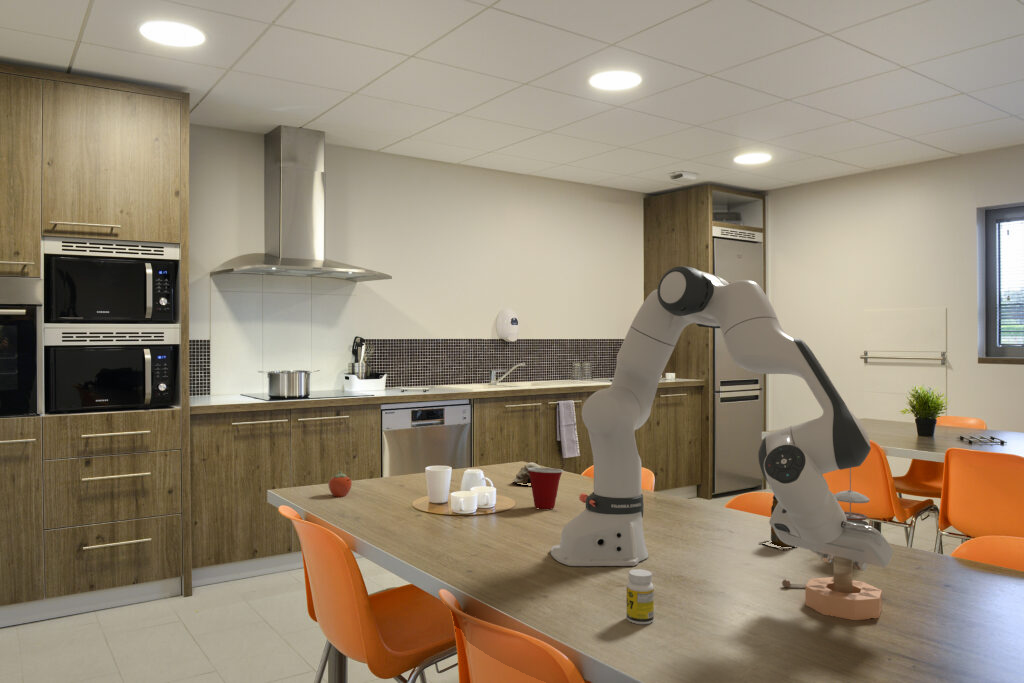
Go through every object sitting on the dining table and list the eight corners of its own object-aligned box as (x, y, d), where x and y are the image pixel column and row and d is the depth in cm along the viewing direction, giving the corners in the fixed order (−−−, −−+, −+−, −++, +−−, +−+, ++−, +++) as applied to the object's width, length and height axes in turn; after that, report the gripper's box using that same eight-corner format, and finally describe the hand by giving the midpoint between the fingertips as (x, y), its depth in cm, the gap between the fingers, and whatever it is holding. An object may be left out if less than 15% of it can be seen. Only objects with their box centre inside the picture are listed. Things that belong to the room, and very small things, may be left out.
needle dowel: (841, 610, 133) (841, 539, 133) (829, 604, 136) (829, 535, 137) (856, 609, 134) (856, 538, 134) (844, 603, 137) (844, 534, 137)
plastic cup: (569, 506, 219) (569, 467, 219) (551, 513, 210) (552, 472, 210) (538, 502, 225) (538, 463, 225) (520, 508, 216) (520, 468, 216)
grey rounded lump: (510, 484, 249) (511, 459, 256) (513, 500, 257) (514, 475, 264) (545, 484, 248) (545, 459, 255) (546, 499, 256) (547, 475, 263)
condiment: (804, 545, 177) (804, 496, 178) (783, 551, 173) (783, 500, 173) (779, 539, 184) (779, 491, 184) (757, 544, 179) (757, 495, 179)
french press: (871, 565, 161) (871, 453, 161) (815, 557, 167) (815, 449, 168) (875, 555, 170) (876, 448, 170) (822, 547, 176) (822, 444, 176)
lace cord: (783, 588, 145) (783, 580, 145) (780, 586, 147) (780, 578, 147) (872, 590, 145) (872, 582, 145) (868, 587, 146) (868, 579, 146)
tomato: (348, 498, 229) (349, 472, 229) (325, 498, 229) (325, 472, 229) (354, 493, 236) (354, 469, 237) (331, 493, 237) (331, 468, 237)
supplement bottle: (623, 615, 130) (623, 568, 130) (649, 614, 130) (649, 568, 131) (630, 625, 125) (630, 576, 125) (656, 624, 126) (657, 576, 126)
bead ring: (836, 621, 128) (836, 601, 128) (793, 598, 140) (793, 579, 140) (896, 616, 130) (896, 596, 130) (849, 593, 143) (849, 575, 143)
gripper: (883, 514, 123) (908, 562, 129) (774, 494, 139) (801, 537, 145) (870, 545, 120) (897, 592, 126) (760, 521, 136) (789, 564, 142)
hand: (845, 563), depth 136 cm, fingers open, 5 cm apart
